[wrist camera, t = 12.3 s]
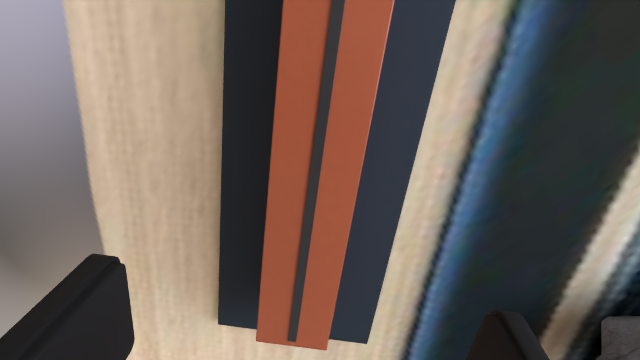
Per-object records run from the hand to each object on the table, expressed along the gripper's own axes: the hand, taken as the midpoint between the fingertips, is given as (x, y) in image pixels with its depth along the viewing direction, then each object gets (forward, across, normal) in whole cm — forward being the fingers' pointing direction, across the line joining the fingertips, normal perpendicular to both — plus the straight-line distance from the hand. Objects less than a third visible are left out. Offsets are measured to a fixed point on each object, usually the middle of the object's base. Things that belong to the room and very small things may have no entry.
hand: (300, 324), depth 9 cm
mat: (+13, 0, +1) cm, 13 cm away
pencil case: (+12, 0, +1) cm, 12 cm away
